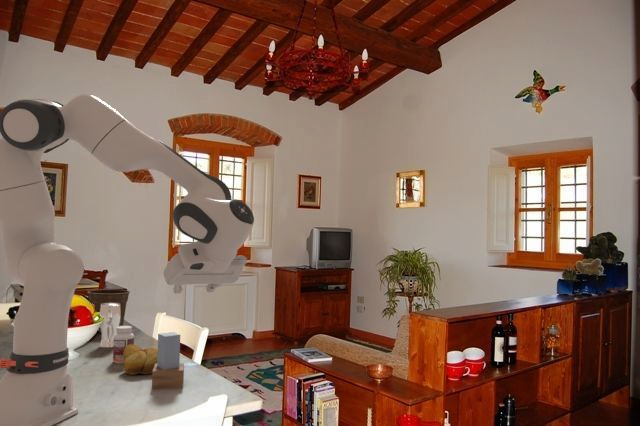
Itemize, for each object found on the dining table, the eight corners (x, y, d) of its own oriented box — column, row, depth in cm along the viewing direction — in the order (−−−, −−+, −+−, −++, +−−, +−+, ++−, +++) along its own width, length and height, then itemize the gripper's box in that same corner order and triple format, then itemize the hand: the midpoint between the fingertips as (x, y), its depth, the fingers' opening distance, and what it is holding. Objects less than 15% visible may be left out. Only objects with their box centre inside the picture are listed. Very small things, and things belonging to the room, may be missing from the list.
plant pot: (121, 325, 225) (122, 288, 225) (134, 331, 212) (135, 292, 213) (81, 329, 215) (83, 289, 215) (92, 336, 202) (93, 294, 203)
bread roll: (167, 367, 161) (168, 341, 162) (167, 375, 152) (168, 348, 152) (123, 369, 158) (124, 342, 158) (120, 378, 148) (121, 349, 149)
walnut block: (182, 388, 141) (183, 370, 141) (151, 390, 139) (152, 371, 139) (183, 380, 149) (184, 362, 149) (154, 381, 147) (155, 363, 147)
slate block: (179, 367, 144) (180, 334, 144) (163, 369, 141) (164, 336, 141) (172, 363, 147) (173, 332, 147) (157, 366, 144) (158, 333, 144)
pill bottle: (129, 358, 170) (130, 324, 170) (136, 362, 165) (137, 327, 166) (109, 360, 166) (111, 326, 167) (116, 365, 161) (117, 329, 162)
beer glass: (98, 344, 188) (99, 303, 189) (118, 343, 191) (120, 302, 192) (98, 348, 182) (100, 305, 182) (119, 347, 185) (121, 305, 185)
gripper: (245, 247, 137) (223, 280, 144) (173, 244, 124) (153, 282, 130) (254, 265, 134) (231, 298, 141) (181, 264, 120) (159, 302, 127)
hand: (193, 290), depth 135 cm, fingers open, 8 cm apart
